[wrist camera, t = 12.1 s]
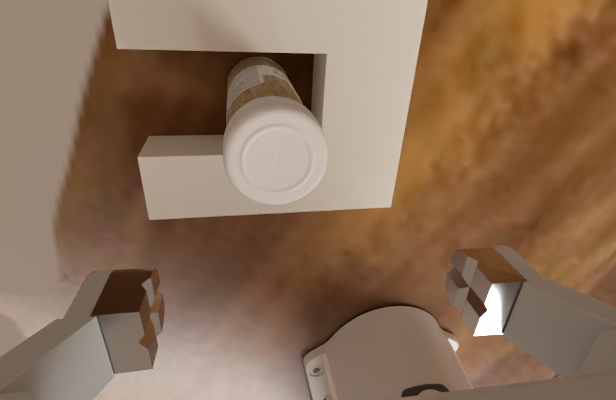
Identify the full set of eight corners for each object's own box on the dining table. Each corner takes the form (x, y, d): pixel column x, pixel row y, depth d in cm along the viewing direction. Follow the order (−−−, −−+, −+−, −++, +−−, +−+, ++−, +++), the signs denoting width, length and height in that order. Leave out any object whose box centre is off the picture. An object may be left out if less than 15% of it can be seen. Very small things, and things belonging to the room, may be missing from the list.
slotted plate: (374, 184, 33) (390, 207, 30) (158, 193, 30) (149, 220, 26) (405, -29, 25) (433, -31, 22) (118, -48, 22) (97, -54, 19)
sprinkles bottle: (300, 94, 28) (350, 169, 16) (251, 130, 29) (266, 226, 17) (263, 40, 26) (291, 83, 14) (211, 80, 26) (198, 152, 15)
